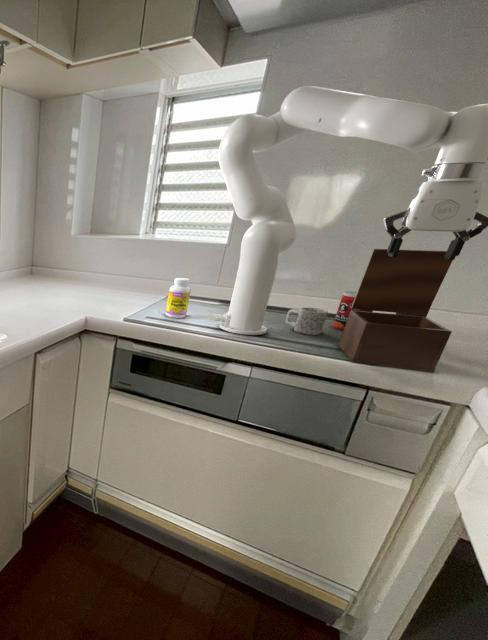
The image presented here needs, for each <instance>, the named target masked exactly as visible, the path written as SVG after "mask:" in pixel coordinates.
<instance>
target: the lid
mask: <svg viewBox="0 0 488 640" xmlns="http://www.w3.org/2000/svg"><path fill="white" fill-rule="evenodd" d="M387 250H388V248H373V249H372V252H371V255H370V257H369V259H368V262H367V265H366V267H365V269H364V273H363V276H362V278H361V281H360V283H359V285H358V289H357V291H356V292H357V294H356V296H355V299H354V301H353V304H352V307H351V309H358V310H370V311H373V312H381V313H393V314H396V313H406V314H418V315H427V316H428V314H429V312H430V310H431V307H432V306H433V303H434V301H435V299H436V297H437V295H438V293H439V290H440V288H441V286H442V284H443V282H444V279H445V278H446V276H447V273H448V271H449V269H450V267H451V265H452V263H453V261H454V260H448V259H445V258H444V256H445V254H446V252H447V250H435V249H433V250H432V249H404V248H403V249H401V248H400V249H399V251H398V254H397V256H396V257H391V256H388V254H389V253H387ZM429 309H430V310H429ZM428 311H429V312H428ZM427 313H428V314H427Z"/></svg>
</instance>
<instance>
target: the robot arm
mask: <svg viewBox="0 0 488 640" xmlns="http://www.w3.org/2000/svg"><path fill="white" fill-rule="evenodd" d="M309 130H310V131H313V132H318V133H324V134H326V135H331V136H335V137H341V138H350V137H353V138H358V139H359V138H361V139H365V140H369V141H374V142H379V143H384V144H388V145H391V146H396V147H400V148H404V149H405V150H407V151H411V152H422V151H428V150H435V149H439V151H438V154H437V156H436V159H435V161H434V164H433V165H432V166H430V167H429V168H423V169H422V171H421V174H420V175H421V176H422V177H423V176H425V177H427V178H426V179H427V180H426V181H423V182H422V183H421V185H420V186H419V187H418V189H417V191H416V193H415V194H414V196H413V198H412V200H411V201H410V204H409V205H408V207H407V209H405V210H402V211H400V212H399V211H398V212H396V213H394V214H391V215H388V216H385V217H384V218H383V224H384V227H385V228H384V229H385V231H386V232H387V233H388V235H389V237H390V238H391V240H390V242H389V244H388V247H387V249H388V250H387V253H389V254H388V256H391V257H396V256H397V254H398V251H399V249H401V247H402V244H403V241H404V239H403V236H405V235H406V234H409V233H410V232H411V231H419V232H450V233H452V235H453V236H454V239H452V240H451V241H450V242H449V244H448V247H447V250H446V251H447V252H446V254H445V256H444V258H445V259H448V260H453V261H454V260H455V259H456V257H459V256H460V254H461V252H462V249H463V248H464V245H465V244H466V242H468V241H470V239H472V238H474V237H476V236H478V235H479V234H481V233H482V232H483V231H484V230H485V229H487V228H488V216H486V215H484V214H482V213H481V212H478V208H479V205H480V202H481V198H482V195H483V191H484V185H485V180H480V178H481V176H482V174H483V172H484V169H485V168H486V165H487V163H488V103H482V104H475V105H470V106H465V107H463V108H461V109H459V110H458V111H445V110H442V109H441V108H440V107H437V106H434V105H430V104H425V103H419V102H412V101H407V100H400V99H394V98H386V97H380V96H374V95H371V94H365V93H357V92H352V91H345V90H340V89H334V88H328V87H322V86H316V85H303V86H299V87H297V88H295V89H293V90H292V91H290V93H288V94H287V96H285V98H284V99H283V101H282V103H281V105H280V110H279V111H278V112H276V113H274V114H272V115H270V116H268V117H267V116H265V115H261V114H258V113H257V114H256V113H248V114H245V115H242V116H239V117H238V118H236V119H235V120H234V121H232V123H231V124H230V125H229V126H228V127H227V129H226V130H225V131H224V134H223V135H222V137H221V140H220V142H219V146H218V153H217V157H218V164H219V168H220V171H221V173H222V177H223V179H224V182H225V185H226V189H227V192H228V194H229V195H228V196H229V197H230V200H231V203H232V206H233V209H234V212H235V214H236V216H237V217H238V218H239V219H240V220H243V221H251V226H250V227H249V228H248V229H247V230H246V232H245V233H244V234H243V237H242V239H241V244H240V254H239V255H240V256H239V263H238V268H237V271H236V272H237V273H236V275H235V276H236V277H235V281H234V285H233V291H232V295H231V299H230V304H229V307H228V311H226V313H222V314H218V313H211V314H210V318H209V319H210V320H213V321H214V322H220V323H219V328H220V329H221V330H223V331H226V332H228V333H232V334H238V335H245V336H246V335H247V336H262V335H264V334H266V333H267V332H268V328H267V327H266V326H264V325H263V323H264V320H265V315H266V311H267V307H268V305H269V300H270V297H271V294H272V289H273V286H274V282H275V278H276V273H277V270H278V262H279V255H280V254H281V253H284V252H285V251H287V250H288V249H290V248H291V247H292V245H293V244H294V243H295V241H296V237H297V229H296V225H295V222H294V220H293V216H292V213H291V211H290V208H289V206H288V203H287V200H286V198H285V196H284V194H283V192H282V190H280V189H279V188H278V187H275V186H273V185H268V184H267V183H266V181H265V179H264V176H263V174H262V170H261V167H260V165H259V162H258V161H257V159H256V157H255V155H254V153H262V152H266V151H269V150H271V149H274V148H276V147H277V146H279V145H282V144H283V143H286V142H288V141H289V140H292V139H294V138H297V137H298V136H300V135H302V134H304V133H305V132H307V131H309ZM400 219H402V221H401V227H399V228H398V229H397V228H396V227H395V225H394V222H395V221H398V220H400ZM473 221H475V222H477V224H476V225H475V226H474V227H473V228H471V229H470V227H471V226H472V223H473ZM468 229H469V230H468Z"/></svg>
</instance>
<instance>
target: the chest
mask: <svg viewBox="0 0 488 640" xmlns="http://www.w3.org/2000/svg"><path fill="white" fill-rule="evenodd" d="M452 332H453V331H452V330H451V329H449V328H447V327H445V326H443V325H441V324H440V323H437V322H436V321H434V320H432V319H430V318H429V317H428V316H427V317H423V316H412V315H400V314H396V313H389V312H377V311H373V312H365V311H353V310H351V311H350V314H349V317H348V319H347V322H346V325H345V328H344V331H342V334H341V337H340V340H339V342H338V347H339V348H340V349H341V350H342V351H343V353H344V354H345V355H346V356H347V357H348V359H349V360H350V361H351V363H357V364H365V365H373V366H374V365H375V366H382V367H388V368H395V369H396V368H397V369H404V370H411V371H420V372H421V371H422V372H427V373H434V372H435V369H436V368H437V365H438V363H439V361H440V359H441V358H442V354H443V352H444V350H445V349H446V345H447V343H448V341H449V339H450V337H451V335H452Z"/></svg>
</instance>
